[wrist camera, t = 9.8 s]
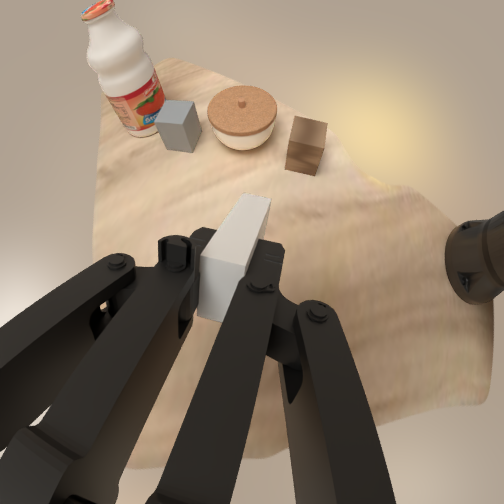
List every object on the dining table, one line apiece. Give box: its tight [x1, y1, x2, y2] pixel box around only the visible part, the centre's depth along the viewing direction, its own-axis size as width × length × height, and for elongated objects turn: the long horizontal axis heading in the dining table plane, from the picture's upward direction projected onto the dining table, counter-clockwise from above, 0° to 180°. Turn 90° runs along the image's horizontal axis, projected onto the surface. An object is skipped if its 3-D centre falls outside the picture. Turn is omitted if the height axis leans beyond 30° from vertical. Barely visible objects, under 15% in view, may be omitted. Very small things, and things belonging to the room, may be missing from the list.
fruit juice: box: [81, 0, 166, 137], centre depth 35 cm, size 9×9×28 cm
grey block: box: [154, 100, 202, 153], centre depth 43 cm, size 5×5×8 cm
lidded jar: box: [207, 86, 277, 150], centre depth 43 cm, size 11×11×9 cm
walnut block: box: [285, 116, 327, 176], centre depth 42 cm, size 5×5×8 cm
